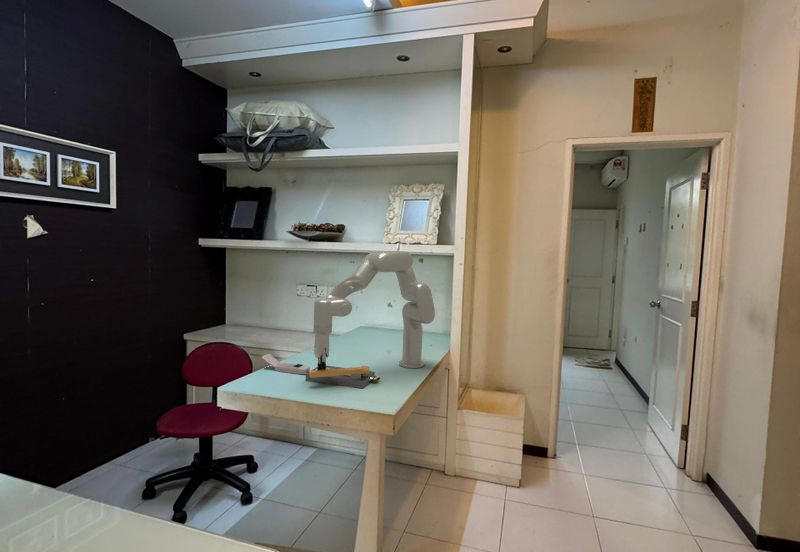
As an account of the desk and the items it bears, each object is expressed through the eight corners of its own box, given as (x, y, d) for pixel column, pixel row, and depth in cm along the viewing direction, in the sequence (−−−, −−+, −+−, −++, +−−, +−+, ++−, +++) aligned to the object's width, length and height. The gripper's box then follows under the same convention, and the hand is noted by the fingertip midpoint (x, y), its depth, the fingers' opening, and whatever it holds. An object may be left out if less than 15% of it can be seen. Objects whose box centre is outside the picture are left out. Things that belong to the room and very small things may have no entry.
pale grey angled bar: (268, 353, 190) (314, 359, 182) (268, 365, 190) (314, 372, 182) (259, 356, 184) (307, 363, 176) (259, 369, 184) (307, 376, 177)
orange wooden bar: (309, 375, 164) (309, 369, 164) (367, 371, 173) (367, 365, 173) (310, 378, 160) (310, 372, 160) (370, 373, 169) (370, 368, 169)
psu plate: (320, 371, 184) (321, 362, 184) (374, 378, 177) (374, 369, 177) (305, 380, 171) (305, 371, 170) (362, 388, 163) (363, 379, 163)
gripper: (311, 325, 172) (309, 368, 173) (316, 333, 158) (314, 379, 159) (328, 325, 174) (327, 366, 175) (335, 332, 160) (333, 377, 161)
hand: (321, 372), depth 167 cm, fingers closed
